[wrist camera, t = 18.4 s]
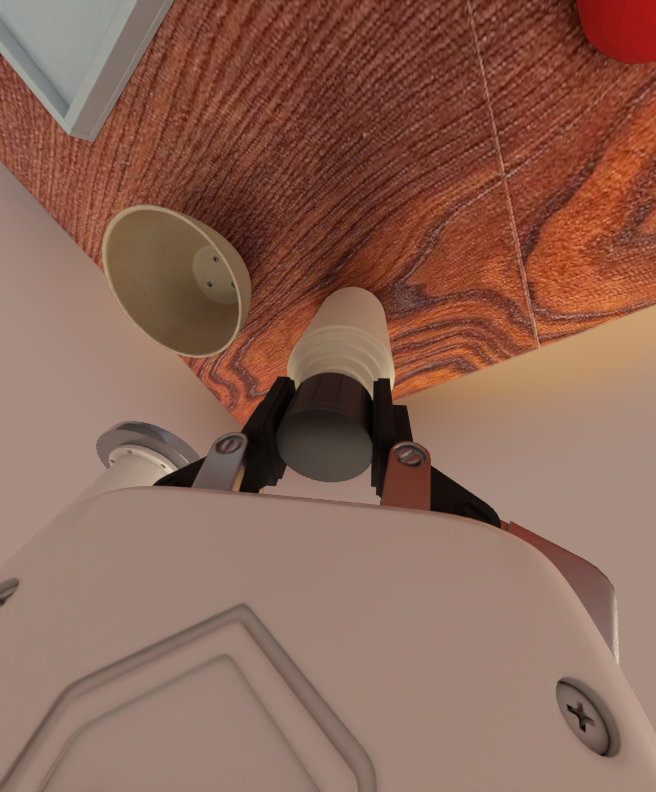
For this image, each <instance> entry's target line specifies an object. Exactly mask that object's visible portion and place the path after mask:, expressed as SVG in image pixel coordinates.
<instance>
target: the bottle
mask: <svg viewBox="0 0 656 792" xmlns="http://www.w3.org/2000/svg"><path fill="white" fill-rule="evenodd" d="M325 372H334V373H341V374H345V375H347V376H350V377H352V378H354V379H356V380H357V381H359V382H360V383H361V384H362V385H363V386H365V388H366V389H367V390H368V392H369V393H370V395H371V397H372V400H373V382H374V381H378V378H390V385H391V391H392V388H393V385H394V379H395V371H394V365H393V359H392V353H391V347H390V341H389V335H388V330H387V324H386V318H385V312H384V309H383V307H382V304H381V303H380V301H379V300H378V299H377V297H376V296H374V295H373V294H372V293H371V292H369V291H367V290H365V289H362V288H358V287H345V288H342V289H339V290H337V291H335V292H333V293H332V294H331V295H329V296H328V297H327V298H326V299H325V301H324V302H323V304H322V305H321V307H320V308H319V310H318V311H317V313H316V314H315V316H314V318H313V319H312V321H311V322H310V324H309V325H308V327H307V328H306V330H305V331H304V333H303V334H302V336H301V337H300V339H299V341H298V342H297V344H296V345H295V347H294V348H293V350H292V352H291V354H290V357H289V360H288V366H287V374H288V377H290V378H291V380H294V382H295V388H296V390H297V388H298V387H299V385H300V383H301V382H303V381H304V380H306V379H307V378H309V377H311V376H313V375H316V374H319V373H325Z"/></svg>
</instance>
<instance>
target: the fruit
mask: <svg viewBox="0 0 656 792" xmlns="http://www.w3.org/2000/svg"><path fill="white" fill-rule="evenodd" d="M576 2H577V7H578V12H579V17H580V22H581V25H582V28H583V30H584V33H585V35H586V37H587V39H588V41H589V42H590V43H591V44H592V45H594V46H595V47H596V48H597V49H598V50H600V51H601V52H602V53H603V54H605V55H606V56H608V57H610V58H612V59H614V60H617V61H620V62H623V63H626V64H642V63H649V62H656V0H576Z"/></svg>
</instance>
